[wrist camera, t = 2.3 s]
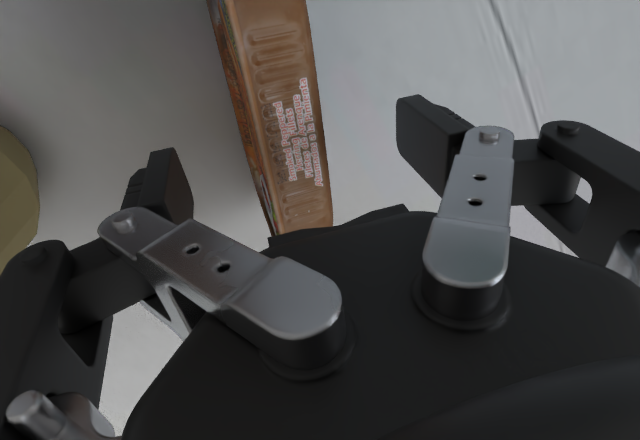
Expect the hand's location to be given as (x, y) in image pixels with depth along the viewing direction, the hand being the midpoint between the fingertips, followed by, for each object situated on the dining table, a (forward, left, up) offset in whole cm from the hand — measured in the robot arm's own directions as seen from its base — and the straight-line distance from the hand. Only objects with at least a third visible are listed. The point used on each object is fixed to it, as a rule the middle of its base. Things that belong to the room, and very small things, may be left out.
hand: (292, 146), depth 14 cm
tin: (0, 0, -9) cm, 9 cm away
